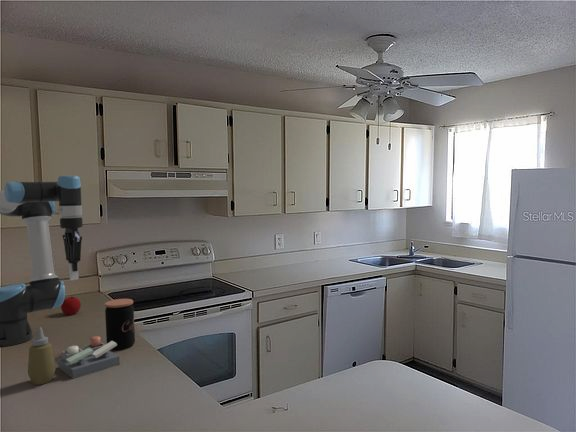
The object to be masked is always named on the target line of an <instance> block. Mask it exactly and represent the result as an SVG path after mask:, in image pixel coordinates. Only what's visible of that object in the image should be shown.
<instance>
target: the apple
mask: <svg viewBox="0 0 576 432" xmlns="http://www.w3.org/2000/svg"><path fill="white" fill-rule="evenodd" d="M81 306H82V305H81V301H80V299H79V298H77V297H75V296H69V297H66V298H64V302H63V304H62V305H61V306H60V309H61V311H62V314H64V315H66V316H72V314H73V315H75V314H77V313H79V311H80V309H81Z"/></svg>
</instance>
